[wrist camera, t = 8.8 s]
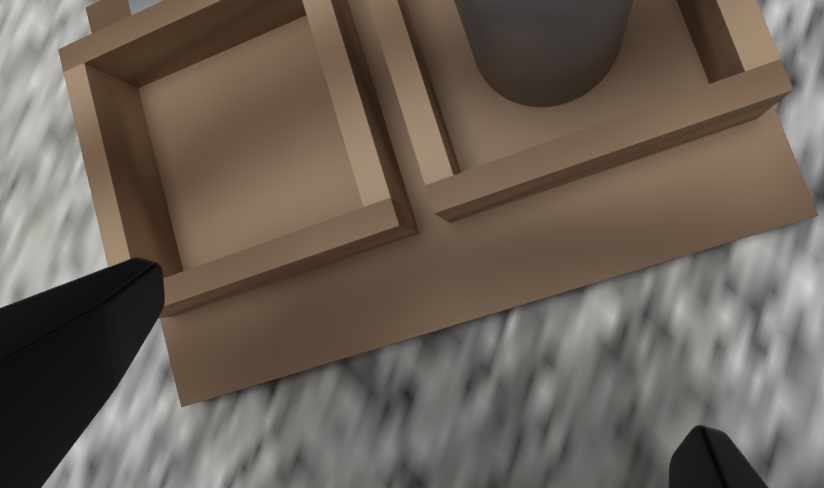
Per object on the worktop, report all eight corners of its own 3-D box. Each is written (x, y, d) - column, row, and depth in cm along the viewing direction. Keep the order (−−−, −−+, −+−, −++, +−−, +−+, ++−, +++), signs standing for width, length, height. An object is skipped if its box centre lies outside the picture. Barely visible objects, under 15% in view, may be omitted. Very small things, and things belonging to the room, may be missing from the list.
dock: (799, 219, 17) (866, 202, 13) (202, 400, 21) (129, 424, 17) (623, -220, 19) (640, -338, 15) (109, 21, 23) (26, -28, 19)
